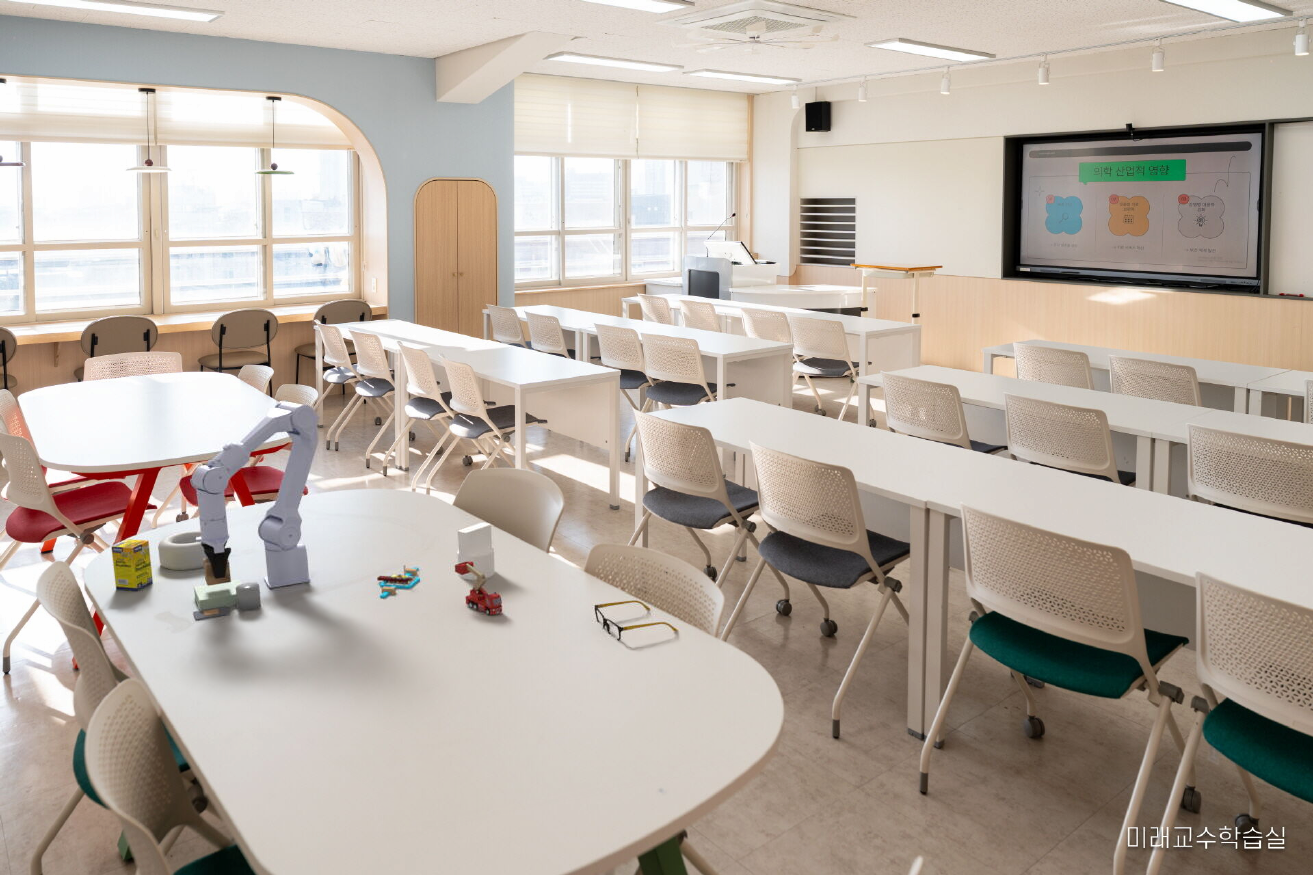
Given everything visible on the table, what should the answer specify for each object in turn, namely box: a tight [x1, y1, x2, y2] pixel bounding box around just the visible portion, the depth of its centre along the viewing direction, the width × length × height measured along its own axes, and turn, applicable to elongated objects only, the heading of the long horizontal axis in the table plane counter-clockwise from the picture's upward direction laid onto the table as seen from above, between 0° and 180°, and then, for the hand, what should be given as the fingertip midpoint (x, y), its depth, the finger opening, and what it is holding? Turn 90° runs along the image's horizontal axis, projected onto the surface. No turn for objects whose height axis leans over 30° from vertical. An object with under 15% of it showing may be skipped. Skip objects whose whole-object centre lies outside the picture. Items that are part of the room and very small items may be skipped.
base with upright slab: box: [456, 521, 496, 581], centre depth 257 cm, size 9×9×12 cm
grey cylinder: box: [236, 582, 262, 612], centre depth 237 cm, size 5×5×5 cm
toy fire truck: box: [454, 562, 503, 616], centre depth 236 cm, size 3×14×10 cm, turn 47°
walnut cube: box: [203, 558, 232, 586], centre depth 240 cm, size 5×5×5 cm
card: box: [192, 606, 230, 621], centre depth 233 cm, size 7×5×1 cm
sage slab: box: [193, 579, 242, 611], centre depth 241 cm, size 10×10×3 cm
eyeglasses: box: [594, 600, 679, 641], centre depth 226 cm, size 14×14×4 cm
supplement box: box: [110, 538, 154, 592], centre depth 249 cm, size 6×6×11 cm
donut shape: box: [157, 529, 208, 571], centre depth 267 cm, size 15×15×7 cm
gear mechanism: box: [377, 564, 421, 599], centre depth 252 cm, size 20×5×9 cm
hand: (218, 573), depth 240 cm, fingers closed on walnut cube, 5 cm apart
